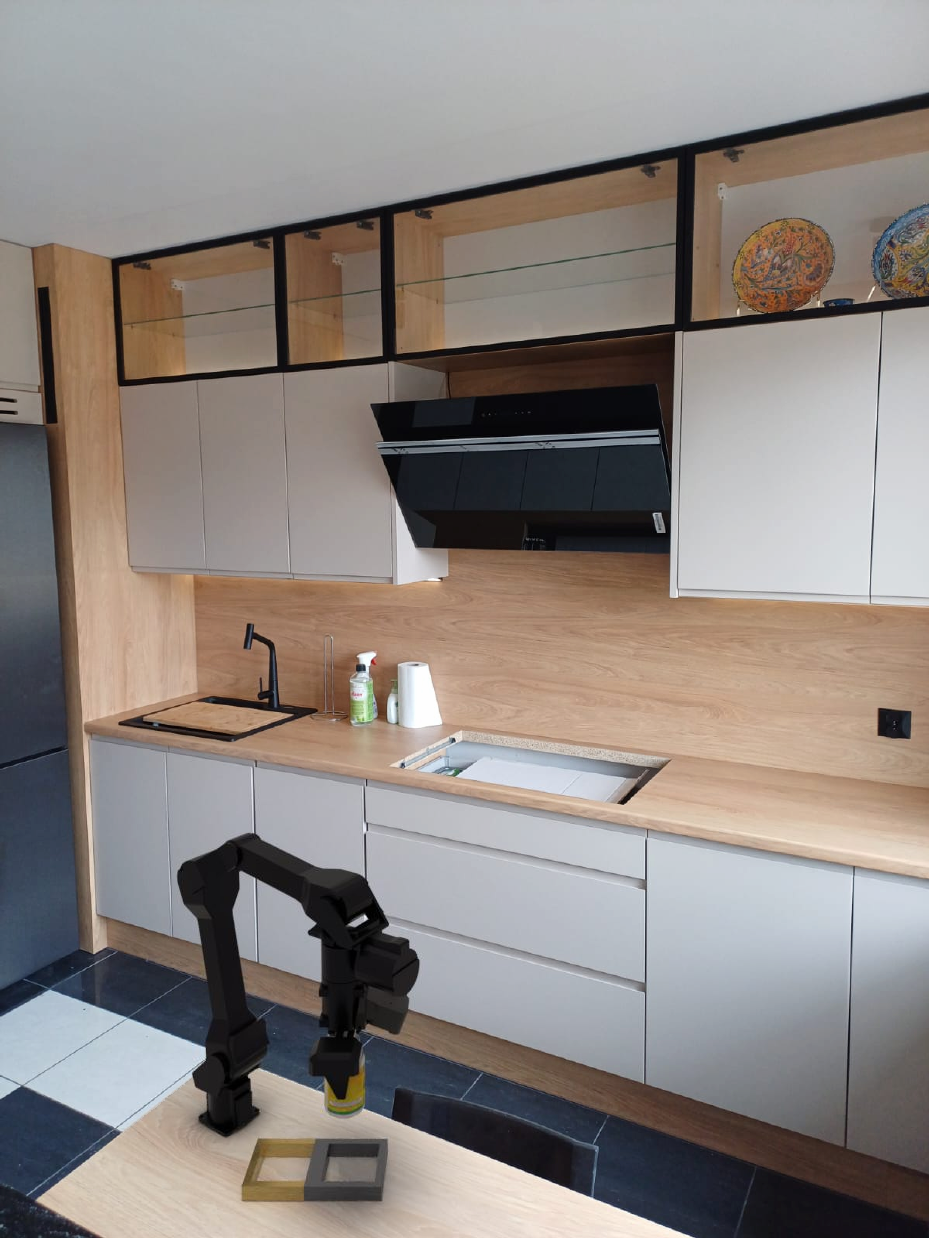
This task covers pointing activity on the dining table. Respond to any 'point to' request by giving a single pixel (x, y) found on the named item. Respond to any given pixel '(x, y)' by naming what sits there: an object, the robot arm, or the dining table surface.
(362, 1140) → the rectangular frame
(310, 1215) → the dining table surface
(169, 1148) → the dining table surface
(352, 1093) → the supplement bottle
